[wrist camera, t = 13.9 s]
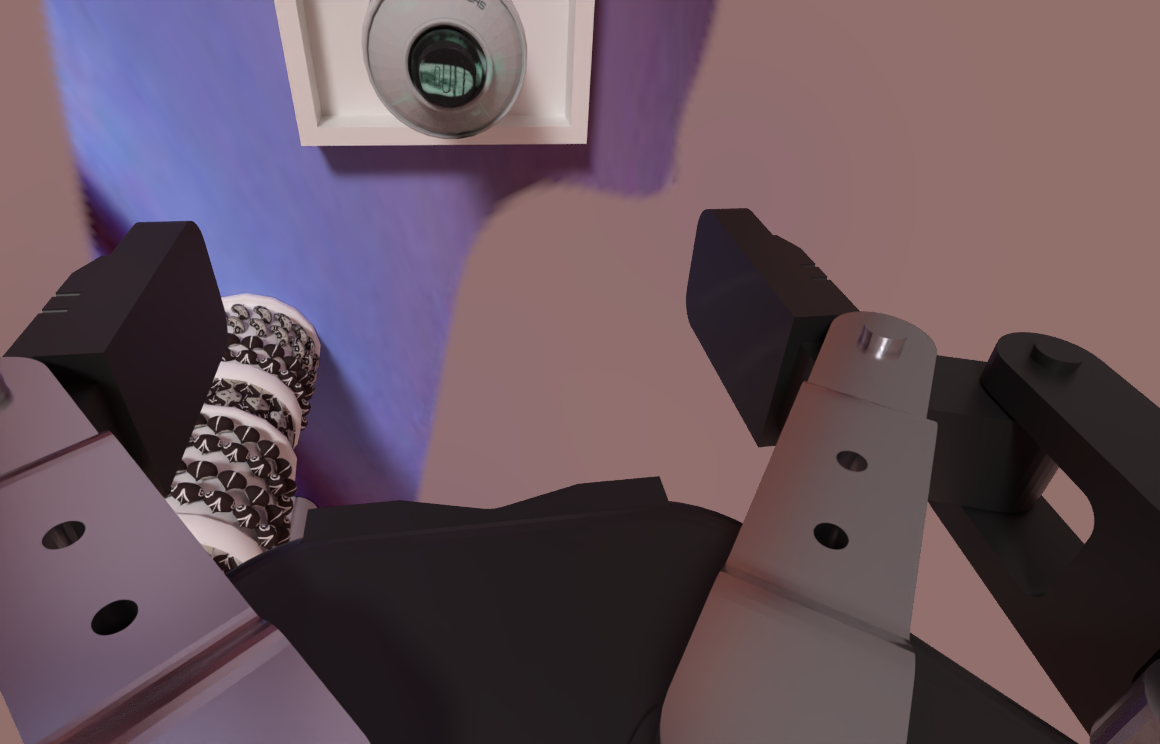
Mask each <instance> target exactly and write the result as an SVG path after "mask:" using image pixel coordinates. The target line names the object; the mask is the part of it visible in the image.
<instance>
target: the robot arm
mask: <svg viewBox="0 0 1160 744" xmlns="http://www.w3.org/2000/svg"><path fill="white" fill-rule="evenodd" d="M686 308H687V315H688V319H689V323H690V325H691V327H692V329H693V331H694V332H695V334H696V336H697V338H698V339H699V341H700V343H701V345H702V347H703V349H704V350H705V352H706V354H707V356H708V358H709V359H710V361H711V363H712V365H713V367H714V368H715V370H716V372H717V374H718V375H719V377H720V379H721V381H722V383H723V385H724V386H725V388H726V390H727V392H728V393H729V395H730V397H731V399H732V401H733V402H734V404H735V406H736V408H737V410H738V411H739V413H740V415H741V417H742V418H743V420H744V422H745V424H746V425H747V428H748V429H749V431H750V433H751V435H752V437H753V438H754V440H755V442H756V444H757V446H758V447H765V446H776V447H775V449H774V452H773V454H772V456H771V458H770V461H769V463H768V466H767V468H766V470H765V473H764V475H763V477H762V480H761V482H760V484H759V487H758V489H757V492H756V494H755V496H754V499H753V501H752V503H751V506H750V508H749V510H748V513H747V515H746V517H745V520H744V522H743V523H741V522H739V521H737V520H735V519H732V518H730V517H728V516H725V515H723V514H720V513H718V512H715V511H712V510H708V509H705V508H702V507H699V506H694V505H689V504H684V503H679V502H672V501H668V498H667V496H666V493H665V490H664V488H663V485H662V482H661V480H660V477H659V476H658V477H647V478H637V479H625V480H615V481H604V482H593V483H583V484H576V485H573V486H570V487H566V488H563V489H560V490H557V491H554V492H550V493H547V494H543V495H540V496H537V497H534V498H530V499H527V500H524V501H520V502H517V503H514V504H511V505H507V506H504V507H500V508H496V509H480V508H470V507H460V506H450V505H440V504H430V503H420V502H410V501H400V500H399V501H389V502H378V503H367V504H356V505H346V506H335V507H324V508H313V509H308V511H307V517H306V523H305V528H304V534H303V537H302V538H299V539H296V540H293V541H289V542H287V543H284V544H282V545H279V546H277V547H274V548H272V549H269V550H267V551H265V552H263V553H261V554H259V555H257V556H255V557H253V558H251V559H249V560H247V561H245V562H244V563H242V564H240V565H239V566H237V567H235V568H234V569H232V570H230V571H229V572H227V573H226V574H224V573H223V572H222V570H221V569H220V568H219V567H218V565H217V564H216V563H215V562H214V560H213V559H212V558H211V557H210V555H209V554H208V553H207V552H206V550H205V549H204V548H203V547H202V545H201V544H200V543H199V541H198V540H197V539H196V538H195V536H194V535H193V534H192V533H191V531H190V530H189V529H188V528H187V526H186V525H185V524H184V523H183V521H182V520H181V519H180V518H179V516H178V515H177V514H176V513H175V511H174V510H173V509H172V508H171V506H170V505H169V504H168V503H167V501H166V500H165V499H164V498H163V497H167V495H168V492H169V490H170V487H171V485H172V482H173V480H174V477H175V475H176V472H177V470H178V467H179V465H180V462H181V460H182V457H183V455H184V452H185V450H186V447H187V445H188V442H189V440H190V437H191V435H192V432H193V430H194V427H195V425H196V422H197V420H198V417H199V415H200V412H201V410H202V407H203V405H204V402H205V400H206V397H207V395H208V392H209V390H210V387H211V385H212V382H213V380H214V377H215V375H216V372H217V370H218V367H219V365H220V362H221V360H222V357H223V355H224V352H225V350H226V346H227V339H228V328H227V318H226V313H225V309H224V306H223V302H222V299H221V296H220V292H219V289H218V286H217V282H216V279H215V275H214V272H213V269H212V265H211V262H210V258H209V255H208V252H207V248H206V245H205V242H204V239H203V236H202V233H201V231H200V229H199V227H198V226H197V225H196V224H195V223H194V222H193V221H170V222H138V223H136V224H135V225H134V226H133V227H132V228H131V229H130V231H129V232H128V233H127V235H126V236H125V237H124V238H123V240H122V241H121V242H120V244H119V245H118V246H117V247H116V249H115V250H114V251H113V253H112V254H111V255H106V256H101V257H99V258H97V259H95V260H94V261H92V262H90V263H89V264H87V265H85V266H84V267H82V268H80V269H78V270H77V271H75V272H74V273H72V274H71V275H70V276H69V278H68V279H67V280H66V281H65V282H64V284H63V285H62V286H61V287H60V288H59V290H58V291H57V292H56V297H52V298H51V299H50V300H49V302H48V303H47V304H46V305H45V306H44V308H43V309H42V311H43V313H41V314H38V315H37V316H36V317H35V318H34V320H33V321H32V322H31V323H30V324H29V326H28V327H27V328H26V329H25V330H24V332H23V333H22V334H21V335H20V336H19V337H18V339H17V340H16V341H15V342H14V343H13V345H12V346H11V347H10V348H9V350H8V351H7V352H6V353H5V354H4V356H3V357H0V691H1V693H2V696H3V698H4V700H5V702H6V705H7V706H8V709H9V712H10V714H11V716H12V718H13V721H14V723H15V725H16V727H17V730H18V732H19V734H20V736H21V739H22V741H23V743H24V744H1078V743H1077V742H1075V741H1074V740H1072V739H1071V738H1069V737H1067V736H1066V735H1065V734H1063V733H1061V732H1060V731H1058V730H1057V729H1055V728H1054V727H1052V726H1051V725H1049V724H1048V723H1046V722H1045V721H1043V720H1042V719H1040V718H1039V717H1037V716H1036V715H1034V714H1033V713H1031V712H1030V711H1028V710H1027V709H1025V708H1024V707H1022V706H1020V705H1019V704H1018V703H1016V702H1015V701H1013V700H1012V699H1010V698H1008V697H1007V696H1005V695H1004V694H1002V693H1001V692H999V691H998V690H996V689H995V688H993V687H992V686H990V685H989V684H987V683H986V682H984V681H983V680H981V679H980V678H978V677H977V676H975V675H974V674H972V673H970V672H969V671H968V670H966V669H965V668H963V667H962V666H960V665H959V664H957V663H955V662H954V661H952V660H951V659H949V658H948V657H946V656H945V655H943V654H942V653H940V652H939V651H937V650H936V649H934V648H933V647H931V646H930V645H928V644H927V643H925V642H923V641H922V640H921V639H919V638H918V637H916V636H915V635H913V634H912V633H910V625H911V617H912V610H913V603H914V596H915V588H916V581H917V574H918V567H919V566H918V565H919V559H920V552H921V545H922V538H923V530H924V523H925V516H926V508H927V501H928V502H929V504H930V505H931V507H932V508H933V510H934V511H935V513H936V514H937V516H938V517H939V518H940V520H941V522H942V523H943V524H944V526H945V527H946V529H947V530H948V532H949V533H950V535H951V536H952V537H953V539H954V540H955V542H956V543H957V545H958V546H959V548H960V549H961V550H962V552H963V553H964V555H965V556H966V558H967V559H968V561H969V562H970V564H971V565H972V566H973V568H974V569H975V571H976V572H977V574H978V575H979V577H980V578H981V579H982V581H983V582H984V584H985V585H986V587H987V588H988V590H989V591H990V592H991V594H992V595H993V597H994V598H995V600H996V601H997V603H998V604H999V606H1000V607H1001V608H1002V610H1003V611H1004V613H1005V614H1006V616H1007V617H1008V619H1009V620H1010V621H1011V623H1012V624H1013V626H1014V627H1015V628H1016V630H1017V632H1018V633H1019V634H1020V636H1021V637H1022V639H1023V640H1024V642H1025V643H1026V645H1027V646H1028V648H1029V649H1030V650H1031V652H1032V653H1033V655H1034V656H1035V658H1036V659H1037V661H1038V662H1039V663H1040V665H1041V666H1042V668H1043V669H1044V670H1045V672H1046V674H1047V675H1048V676H1049V678H1050V679H1051V681H1052V682H1053V684H1054V685H1055V687H1056V688H1057V689H1058V691H1059V692H1060V694H1061V695H1062V697H1063V698H1064V700H1065V701H1066V703H1067V704H1068V705H1069V707H1070V708H1071V710H1072V711H1073V712H1074V714H1075V715H1076V717H1077V718H1078V720H1079V721H1080V723H1081V724H1082V726H1083V727H1084V728H1085V730H1086V731H1087V733H1088V734H1089V736H1090V744H1160V408H1159V407H1158V406H1156V405H1155V404H1154V403H1153V402H1152V401H1150V400H1149V399H1148V398H1147V397H1146V396H1144V395H1143V394H1142V393H1141V392H1139V391H1138V390H1137V389H1136V388H1135V387H1133V386H1132V385H1131V384H1130V383H1128V382H1127V381H1126V380H1124V379H1123V378H1122V377H1121V376H1120V375H1119V374H1117V373H1116V372H1115V371H1114V370H1112V369H1111V368H1110V367H1109V366H1107V365H1106V364H1105V363H1104V362H1103V361H1101V360H1100V359H1098V358H1097V357H1096V356H1095V355H1093V354H1092V353H1090V352H1088V351H1087V350H1085V349H1083V348H1081V347H1079V346H1077V345H1075V344H1072V343H1070V342H1068V341H1064V340H1062V339H1059V338H1056V337H1052V336H1048V335H1043V334H1038V333H1029V332H1028V333H1027V332H1019V333H1011V334H1007V335H1005V336H1002V337H1001V338H1000V339H999V340H998V342H997V344H996V346H995V348H994V350H993V352H992V354H991V356H990V358H989V360H988V362H983V361H975V360H968V359H961V358H953V357H946V356H939V355H937V348H936V345H935V343H934V342H933V340H932V339H931V338H930V337H929V336H928V335H927V334H926V333H925V332H923V331H922V330H921V329H920V328H918V327H916V326H915V325H913V324H911V323H909V322H907V321H904V320H902V319H899V318H897V317H893V316H890V315H886V314H882V313H876V312H865V311H863V312H862V311H861V312H860V311H859V310H858V309H857V308H856V307H855V306H854V305H853V303H852V302H851V301H850V300H849V299H848V298H847V297H846V296H845V295H844V294H843V293H842V292H841V291H840V290H839V289H838V288H837V287H836V285H835V284H834V283H833V282H832V281H831V280H827V276H826V275H825V274H824V273H823V272H822V271H821V270H820V268H819V267H815V263H814V262H813V261H812V260H811V259H810V258H809V257H808V256H807V255H806V254H805V252H804V251H803V250H802V249H801V248H799V247H797V246H795V245H794V244H792V243H790V242H788V241H786V240H785V239H782V238H781V237H779V236H777V235H772V234H771V232H770V231H769V230H768V229H767V228H766V227H765V226H764V225H763V224H762V223H761V221H760V220H759V219H758V218H757V217H756V216H755V215H754V214H753V212H752V211H750V210H749V209H746V208H742V209H741V208H739V209H706V210H704V211H703V212H702V214H701V215H700V218H699V221H698V225H697V231H696V238H695V244H694V250H693V256H692V261H691V267H690V273H689V280H688V286H687V294H686ZM1059 467H1060V468H1061V469H1062V470H1063V471H1064V472H1065V473H1066V474H1067V476H1068V477H1069V478H1070V479H1071V480H1072V481H1073V482H1074V483H1075V484H1076V485H1077V486H1078V487H1079V488H1080V489H1081V490H1082V491H1083V493H1084V494H1085V495H1086V496H1087V498H1088V500H1089V501H1090V504H1091V506H1092V509H1093V512H1094V529H1093V532H1092V534H1091V536H1090V538H1089V539H1088V540H1087V542H1086V543H1085V544H1084V543H1083V542H1082V541H1081V540H1080V539H1079V538H1078V536H1077V535H1076V534H1075V533H1074V532H1073V531H1072V530H1071V529H1070V527H1069V526H1068V525H1067V524H1066V523H1065V522H1064V520H1063V519H1062V518H1061V517H1060V516H1059V515H1058V514H1057V512H1056V511H1055V510H1054V509H1053V508H1052V507H1051V506H1050V504H1049V503H1048V502H1047V501H1046V500H1045V499H1044V498H1043V496H1042V493H1043V492H1044V490H1045V488H1046V487H1047V485H1048V484H1049V482H1050V481H1051V479H1052V478H1053V476H1054V474H1055V473H1056V471H1057V470H1058V468H1059Z"/></svg>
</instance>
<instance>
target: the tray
mask: <svg viewBox="0 0 1160 744" xmlns="http://www.w3.org/2000/svg"><path fill="white" fill-rule="evenodd" d="M511 1H512V3H513V4H514V6H515V8H516V10H517V12H518V14H519V16H520V19H521V22H522V25H523V27H524V31H525V37H526V42H527V70H526V75H525V79H524V84H523V87H522V90H521V92H520V94H519V97H518V99H517V101H516V102H515V104H514V105H513V107H512V108H511V110H510V111H509V113H508V114H507V115H506V116H505V117H504V118H503V119H502V120H501V121H500V122H499V123H497V124H496V125H494V126H493V127H491V128H490V129H488V130H487V131H485V132H482V133H480V134H477V135H475V136H472V137H467V138H462V139H441V138H436V137H431V136H427V135H425V134H422V133H420V132H417V131H415V130H413V129H411V128H410V127H408V126H406V125H405V124H403V123H402V122H400V121H399V120H398V119H397V118H396V117H395V116H394V115H393V114H391V113H390V112H389V111H388V110H387V108H386V107H385V106H384V104H383V103H382V102H381V100H380V99H379V98H378V96H377V94H376V92H375V90H374V88H373V87H372V85H371V83H370V80H369V77H368V73H367V70H366V67H365V63H364V60H363V51H362V43H361V42H362V28H363V22H364V19H365V15H366V11H367V8H368V5H369V2H370V0H274V3H275V8H276V13H277V18H278V24H279V29H280V34H281V40H282V45H283V50H284V56H285V61H286V66H287V72H288V77H289V82H290V87H291V93H292V98H293V103H294V109H295V114H296V119H297V125H298V130H299V135H300V141H301V146H367V145H496V144H587V128H588V111H589V93H590V75H591V58H592V40H593V22H594V5H595V0H511Z"/></svg>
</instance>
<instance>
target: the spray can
mask: <svg viewBox="0 0 1160 744" xmlns="http://www.w3.org/2000/svg"><path fill="white" fill-rule="evenodd" d="M361 43H362V51H363V60H364V63H365V67H366V70H367V73H368V77H369V80H370V83H371V85H372V87H373V88H374V90H375V92H376V94H377V96H378V98H379V99H380V100H381V102H382V103H383V104H384V106H385V107H386V108H387V110H388V111H389V112H390V113H391V114H393V115H394V116H395V117H396V118H397V119H398V120H399V121H400V122H402V123H403V124H405V125H406V126H408V127H410V128H411V129H413V130H415V131H417V132H420V133H422V134H425V135H427V136H431V137H436V138H441V139H462V138H467V137H472V136H475V135H477V134H480V133H482V132H485V131H487V130H488V129H490V128H491V127H493V126H494V125H496V124H497V123H499V122H500V121H501V120H502V119H503V118H504V117H505V116H506V115H507V114H508V113H509V111H510V110H511V108H512V107H513V105H514V104H515V102H516V101H517V99H518V97H519V94H520V92H521V90H522V87H523V84H524V79H525V75H526V70H527V42H526V37H525V31H524V27H523V25H522V22H521V19H520V16H519V14H518V12H517V10H516V8H515V6H514V4H513V3H512V1H511V0H370V2H369V5H368V8H367V11H366V15H365V19H364V22H363V28H362V42H361Z"/></svg>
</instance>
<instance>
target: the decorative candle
mask: <svg viewBox="0 0 1160 744" xmlns="http://www.w3.org/2000/svg"><path fill="white" fill-rule="evenodd" d="M221 299H222V302H223V306H224V309H225V313H226V318H227V328H228V339H227V346H226V350H225V352H224V355H223V357H222V360H221V362H220V365H219V367H218V370H217V372H216V375H215V377H214V380H213V382H212V385H211V387H210V390H209V392H208V395H207V397H206V400H205V402H204V405H203V407H202V410H201V412H200V415H199V417H198V420H197V422H196V425H195V427H194V430H193V432H192V435H191V437H190V440H189V442H188V445H187V447H186V450H185V452H184V455H183V457H182V460H181V462H180V465H179V467H178V470H177V472H176V475H175V477H174V480H173V482H172V485H171V487H170V490H169V492H168V495H167V497H163V498H164V499H165V500H166V501H167V503H168V504H169V505H170V506H171V508H172V509H173V510H174V511H175V513H176V514H177V515H178V516H179V518H180V519H181V520H182V521H183V523H184V524H185V525H186V526H187V528H188V529H189V530H190V531H191V533H192V534H193V535H194V536H195V538H196V539H197V540H198V541H199V543H200V544H201V545H202V547H203V548H204V549H205V550H206V552H207V553H208V554H209V555H210V557H211V558H212V559H213V560H214V562H215V563H216V564H217V565H218V567H219V568H220V569H221V570H222V572H223V573H224V574H226V573H227V572H229V571H230V570H232V569H234V568H235V567H237V566H239V565H240V564H242V563H244V562H245V561H247V560H249V559H251V558H253V557H255V556H257V555H259V554H261V553H263V552H265V551H267V550H269V549H272V548H274V547H277V546H279V545H282V544H284V543H287V542H289V540H290V532H289V530H290V528H291V522H290V520H289V519H288V518H287V517H286V516H287V515H289V514H290V513H291V511H292V510H293V507H294V506H293V501H292V499H291V497H292V496H294V494H295V492H296V489H297V486H296V483H295V474H296V463H297V457H296V455H295V453H294V451H293V449H294V448H295V446H296V445H297V444H298V439H299V434H300V431H302V430H303V429H304V428H305V427H306V426H307V423H308V421H307V419H306V418H305V417H304V416H306V415H307V414H308V413H309V411H310V408H311V406H310V404H309V402H308V400H310V399H311V397H312V396H313V394H314V392H315V387H314V383H315V382H316V379H317V376H318V375H317V369H318V367H319V364H320V359H319V357H320V348H321V344H320V341H319V339H318V336H317V334H316V331H315V329H314V326H313V325H312V324H311V323H310V322H309V321H308V320H307V319H306V318H305V317H304V316H303V315H302V314H301V313H300V312H299V311H298V310H297V309H296V308H294V307H292V306H290V305H288V304H286V303H284V302H282V301H280V300H278V299H276V298H273V297H269V296H262V295H255V294H249V293H243V294H238V295H232V296H226V297H221Z"/></svg>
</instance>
